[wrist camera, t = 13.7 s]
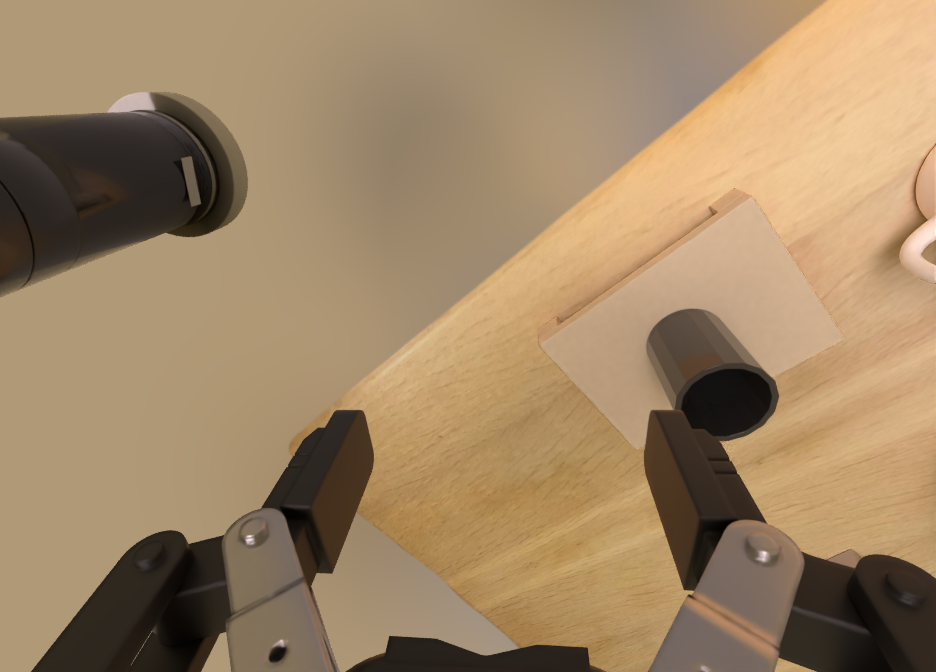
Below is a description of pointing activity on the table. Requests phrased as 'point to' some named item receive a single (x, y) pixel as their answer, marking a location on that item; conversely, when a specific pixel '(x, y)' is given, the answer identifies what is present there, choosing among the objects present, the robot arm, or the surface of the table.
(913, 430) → the table surface
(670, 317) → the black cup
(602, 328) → the plate
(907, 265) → the cup
